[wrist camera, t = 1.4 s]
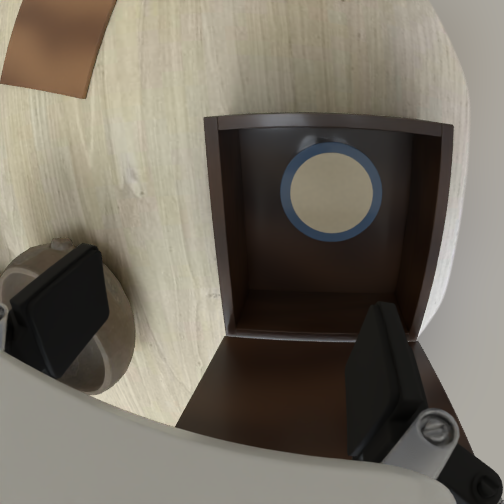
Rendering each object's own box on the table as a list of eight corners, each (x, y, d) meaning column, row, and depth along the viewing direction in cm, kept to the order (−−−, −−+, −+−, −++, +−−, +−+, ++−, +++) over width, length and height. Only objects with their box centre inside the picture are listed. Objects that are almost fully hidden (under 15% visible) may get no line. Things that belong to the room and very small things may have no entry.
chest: (229, 114, 24) (203, 117, 18) (419, 119, 21) (454, 125, 15) (242, 291, 31) (225, 336, 25) (399, 295, 29) (416, 341, 22)
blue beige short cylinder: (304, 122, 23) (303, 124, 19) (384, 159, 23) (399, 170, 19) (272, 200, 26) (264, 219, 22) (348, 233, 26) (354, 257, 22)
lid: (117, 525, 8) (150, 561, 9) (501, 528, 5) (450, 568, 6) (224, 335, 25) (227, 385, 26) (418, 340, 22) (405, 390, 23)
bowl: (59, 198, 31) (-4, 232, 22) (179, 293, 33) (138, 356, 24) (36, 290, 38) (-7, 328, 29) (127, 365, 40) (95, 416, 32)
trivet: (38, -31, 18) (35, -32, 17) (136, -44, 18) (134, -45, 17) (3, 83, 25) (-1, 83, 24) (85, 98, 25) (82, 99, 25)
